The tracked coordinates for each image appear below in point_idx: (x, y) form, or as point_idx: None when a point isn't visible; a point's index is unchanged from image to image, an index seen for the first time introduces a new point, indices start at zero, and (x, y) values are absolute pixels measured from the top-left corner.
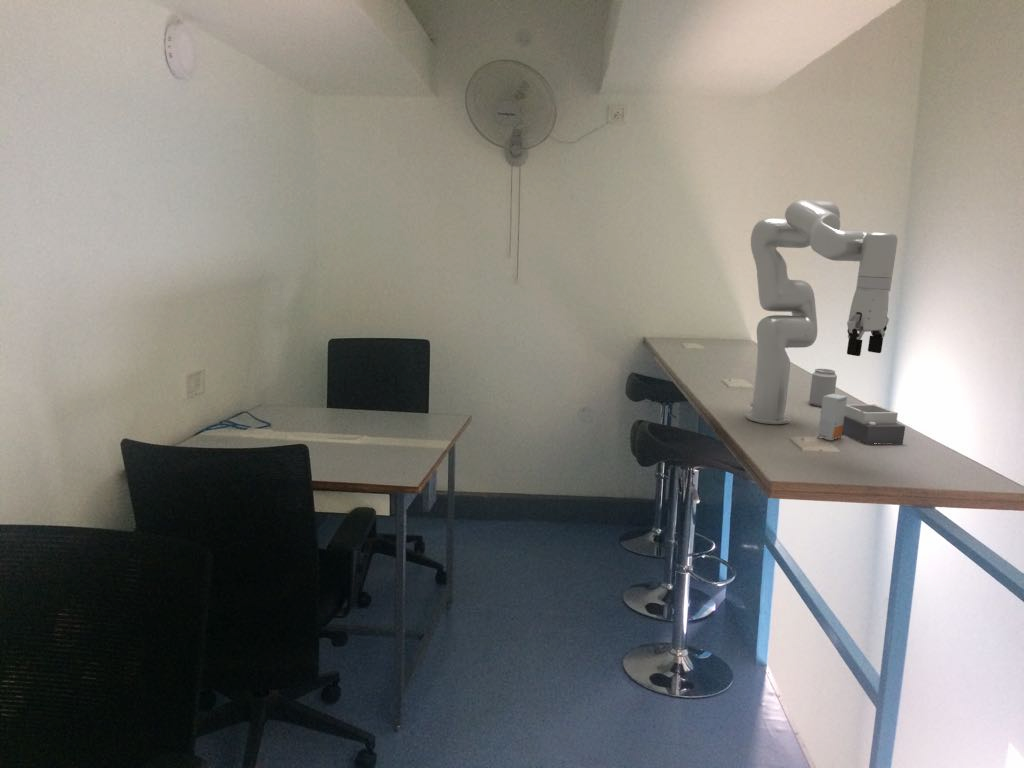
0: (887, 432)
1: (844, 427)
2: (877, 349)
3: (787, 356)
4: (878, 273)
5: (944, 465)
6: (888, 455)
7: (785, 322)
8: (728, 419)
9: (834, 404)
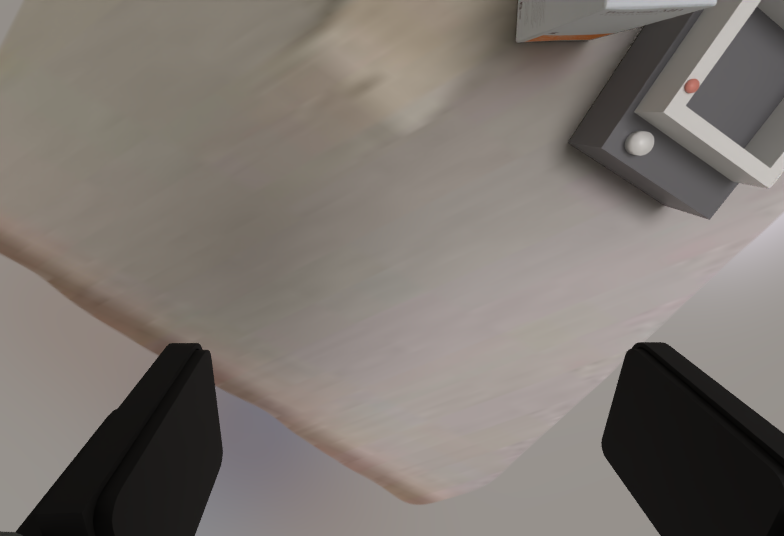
0: (647, 183)
1: None
2: (624, 455)
3: None
4: None
5: (524, 359)
6: (497, 241)
7: None
8: None
9: (587, 2)
